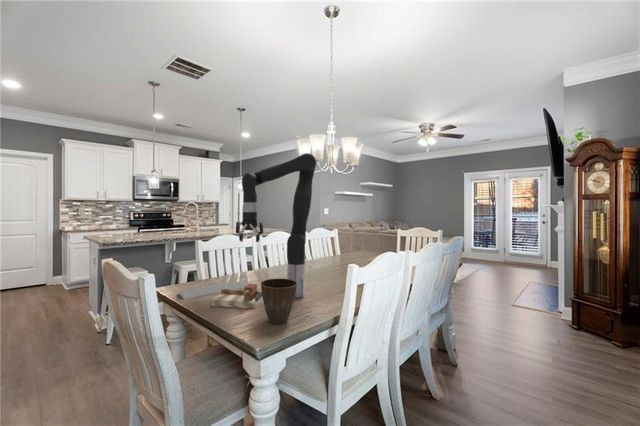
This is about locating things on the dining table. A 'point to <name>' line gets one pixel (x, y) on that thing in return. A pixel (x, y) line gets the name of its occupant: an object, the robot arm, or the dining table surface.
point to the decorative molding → (211, 289)
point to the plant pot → (278, 298)
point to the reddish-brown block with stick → (250, 291)
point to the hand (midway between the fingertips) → (249, 241)
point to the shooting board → (236, 299)
